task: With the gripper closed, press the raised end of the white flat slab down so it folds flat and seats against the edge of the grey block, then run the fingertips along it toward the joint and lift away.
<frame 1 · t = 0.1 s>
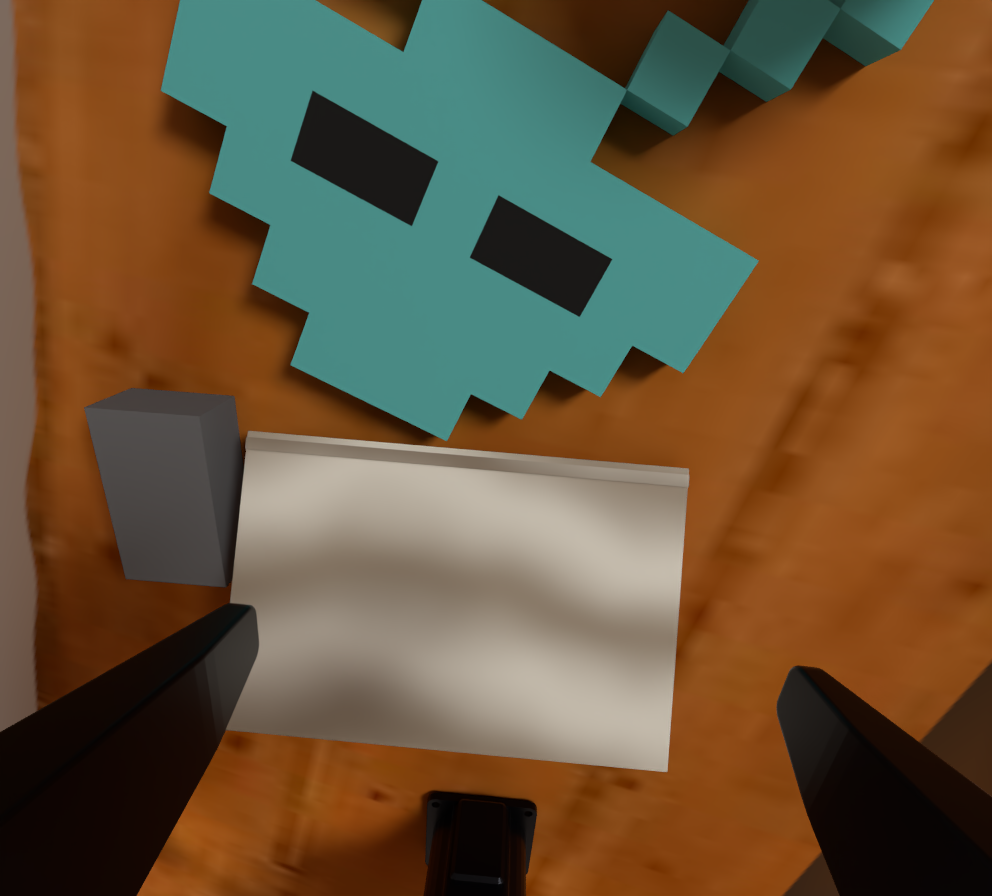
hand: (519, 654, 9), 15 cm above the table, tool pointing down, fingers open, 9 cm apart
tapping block: (200, 472, 25), on the table
alien figure: (488, 153, 20), on the table
white flat slab: (455, 594, 22), point 3 cm above the table, hinge at 25.0°
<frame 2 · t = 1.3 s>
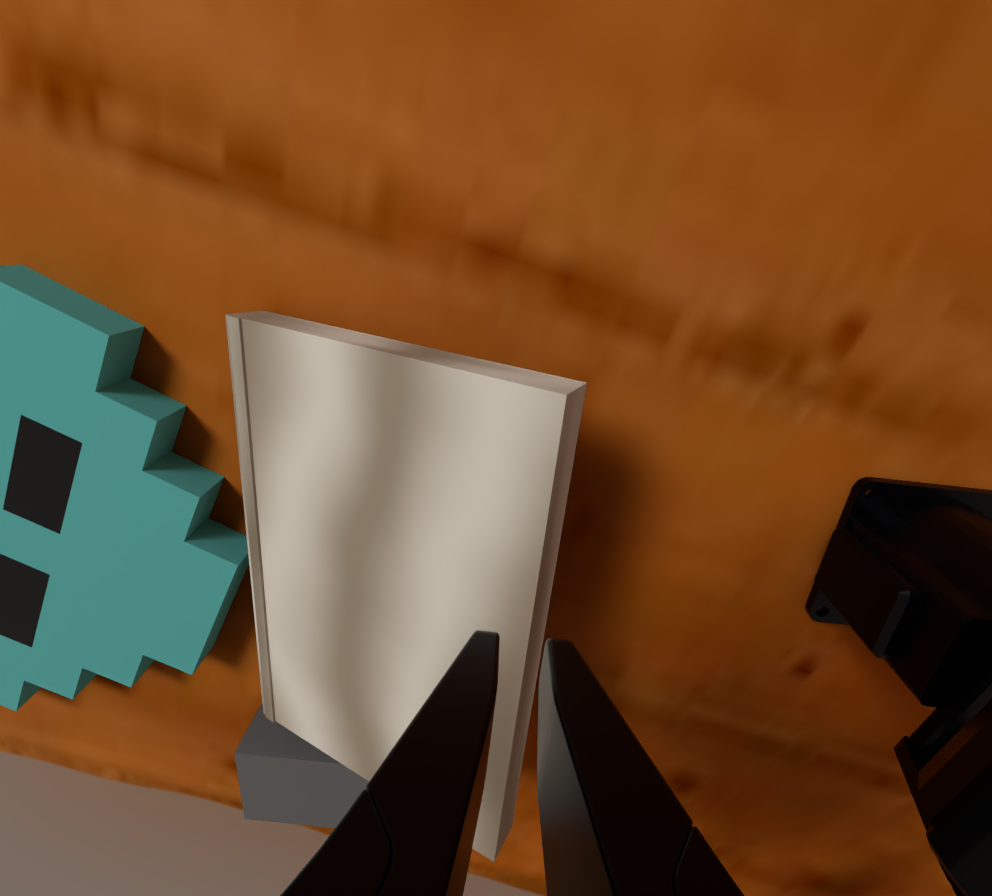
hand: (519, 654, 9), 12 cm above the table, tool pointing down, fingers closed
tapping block: (345, 738, 27), on the table
alien figure: (23, 490, 23), on the table
white flat slab: (380, 593, 19), point 3 cm above the table, hinge at 25.0°
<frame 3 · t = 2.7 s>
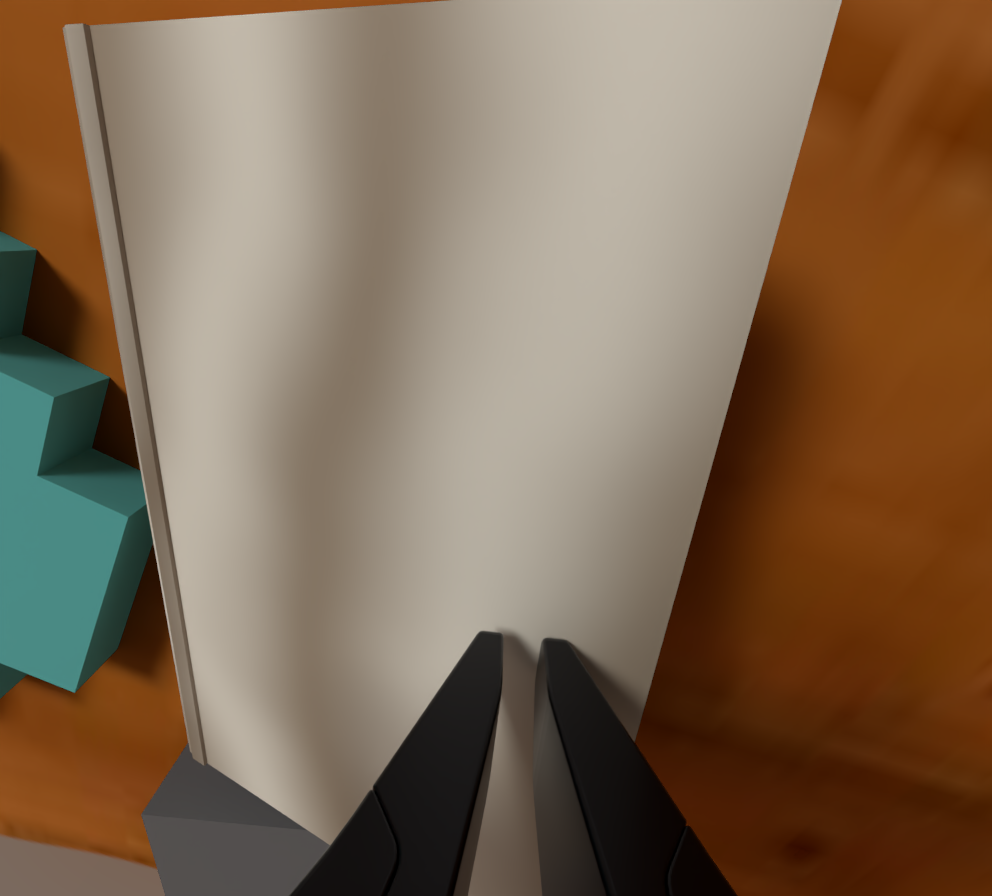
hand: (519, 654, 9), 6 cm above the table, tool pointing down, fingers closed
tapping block: (317, 781, 19), on the table
white flat slab: (365, 554, 11), point 3 cm above the table, hinge at 22.7°, touching gripper
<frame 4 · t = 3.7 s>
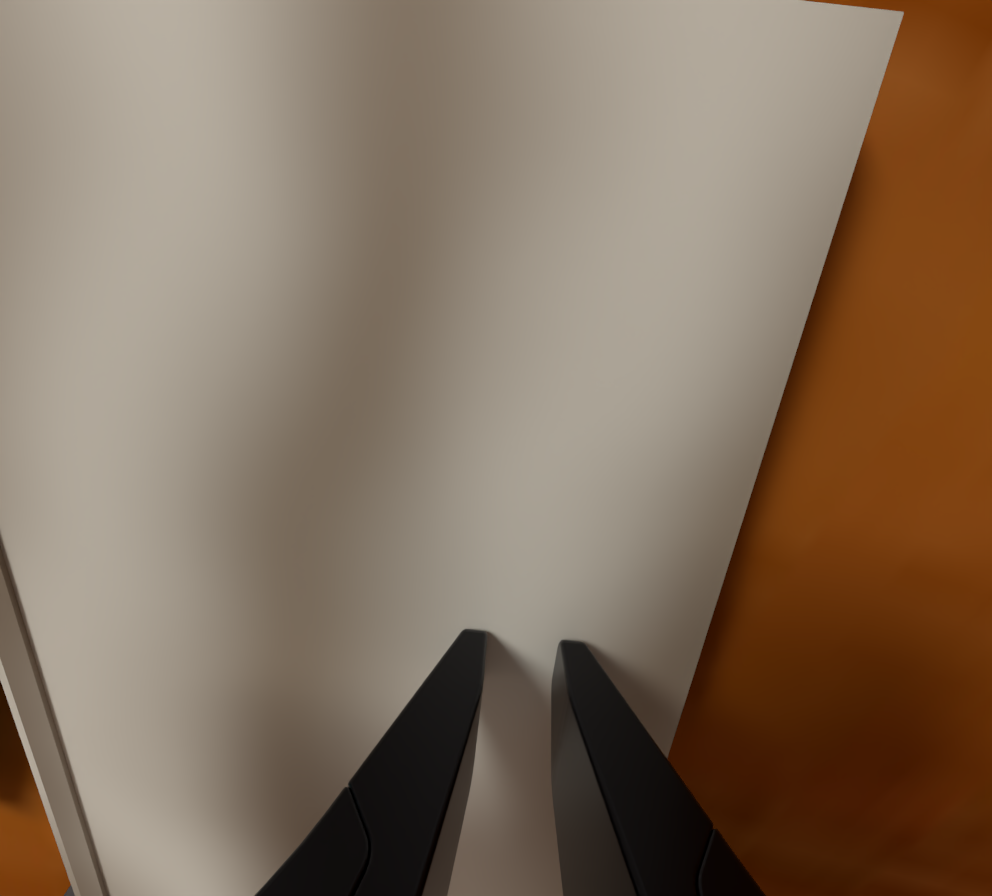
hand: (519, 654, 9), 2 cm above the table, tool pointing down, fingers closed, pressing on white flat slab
white flat slab: (349, 610, 10), point 1 cm above the table, hinge at -0.1°, touching gripper
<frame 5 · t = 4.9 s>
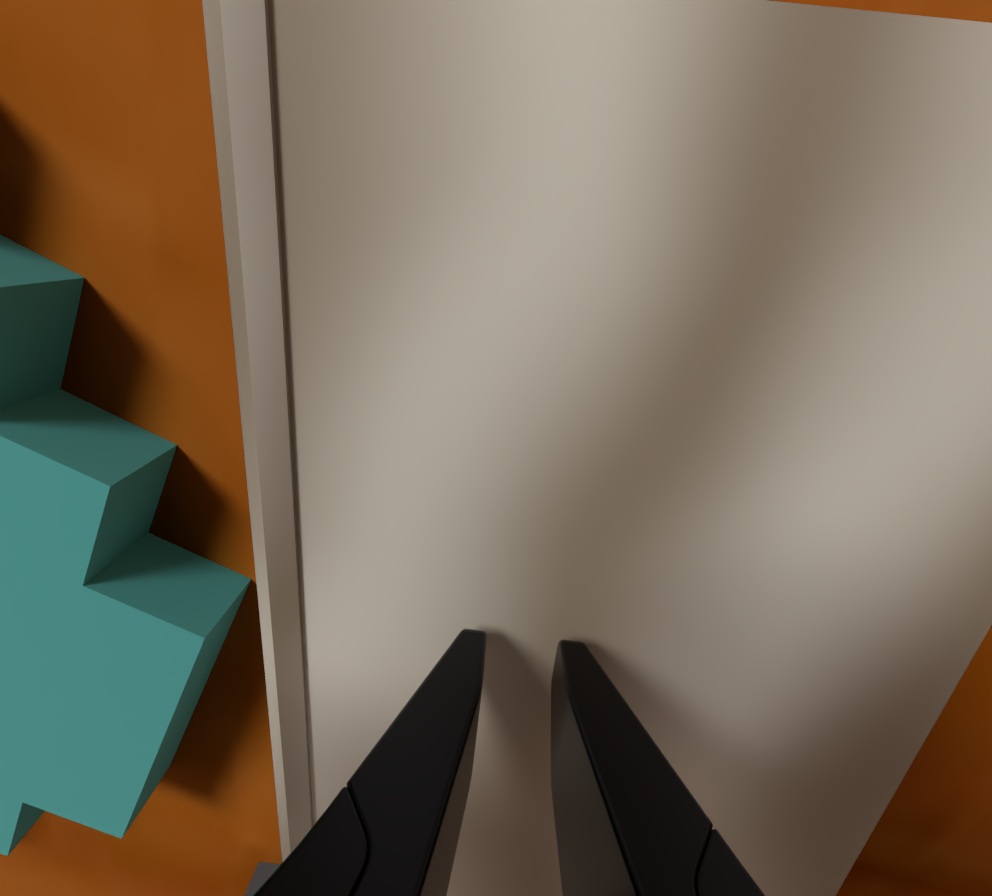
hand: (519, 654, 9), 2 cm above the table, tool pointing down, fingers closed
white flat slab: (599, 621, 10), point 1 cm above the table, hinge at -0.1°
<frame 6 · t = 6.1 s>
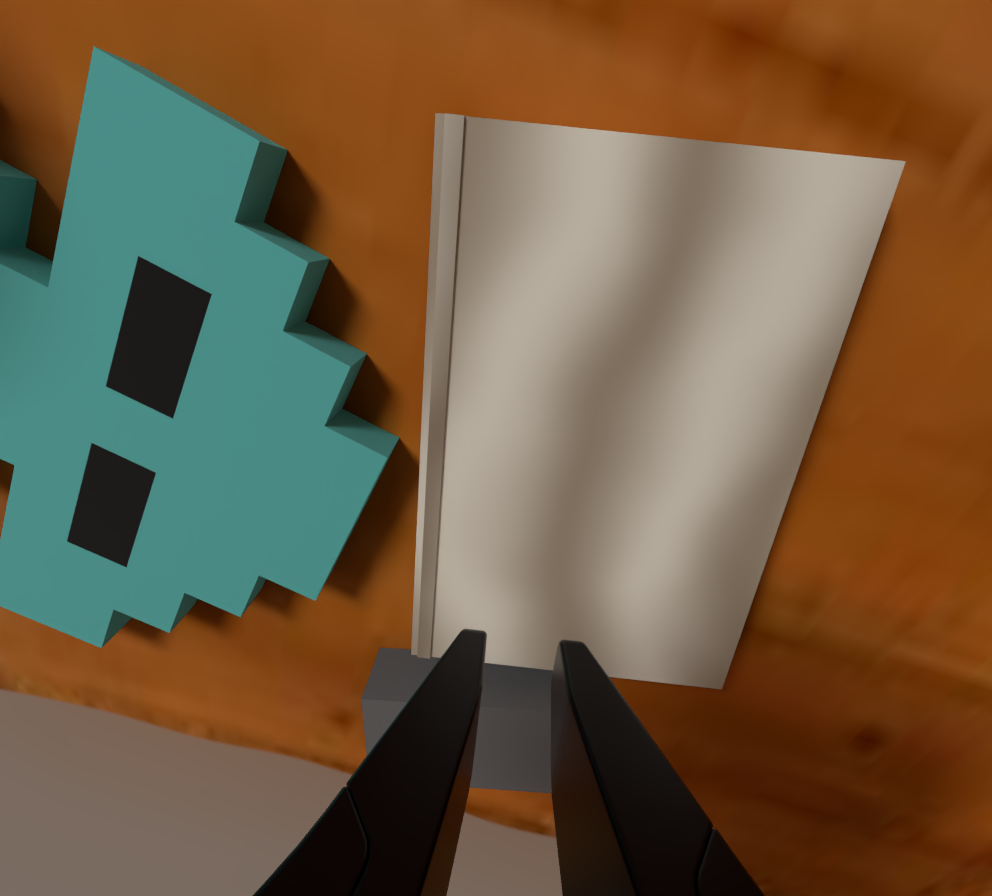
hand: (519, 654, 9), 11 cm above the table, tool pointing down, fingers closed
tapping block: (473, 687, 24), on the table
alien figure: (117, 379, 19), on the table
white flat slab: (604, 450, 18), point 1 cm above the table, hinge at -0.1°
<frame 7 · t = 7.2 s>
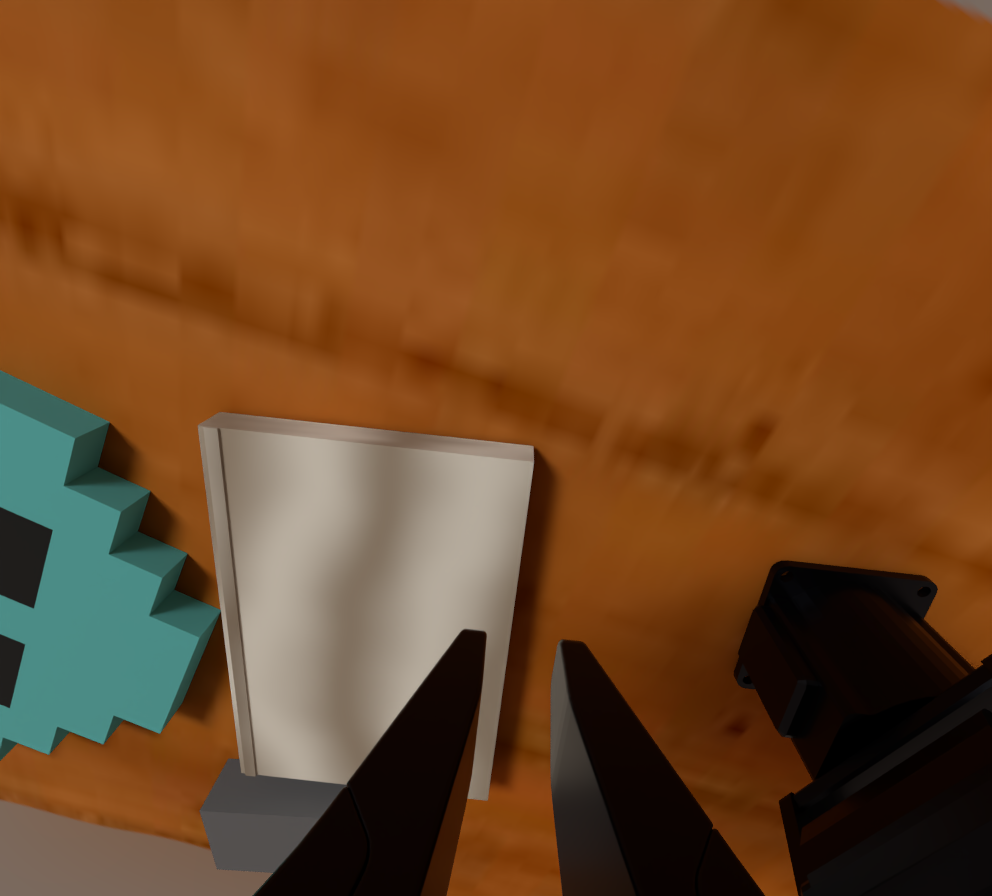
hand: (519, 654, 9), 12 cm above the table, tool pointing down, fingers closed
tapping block: (310, 786, 29), on the table
alien figure: (2, 561, 25), on the table
white flat slab: (369, 630, 23), point 1 cm above the table, hinge at -0.1°
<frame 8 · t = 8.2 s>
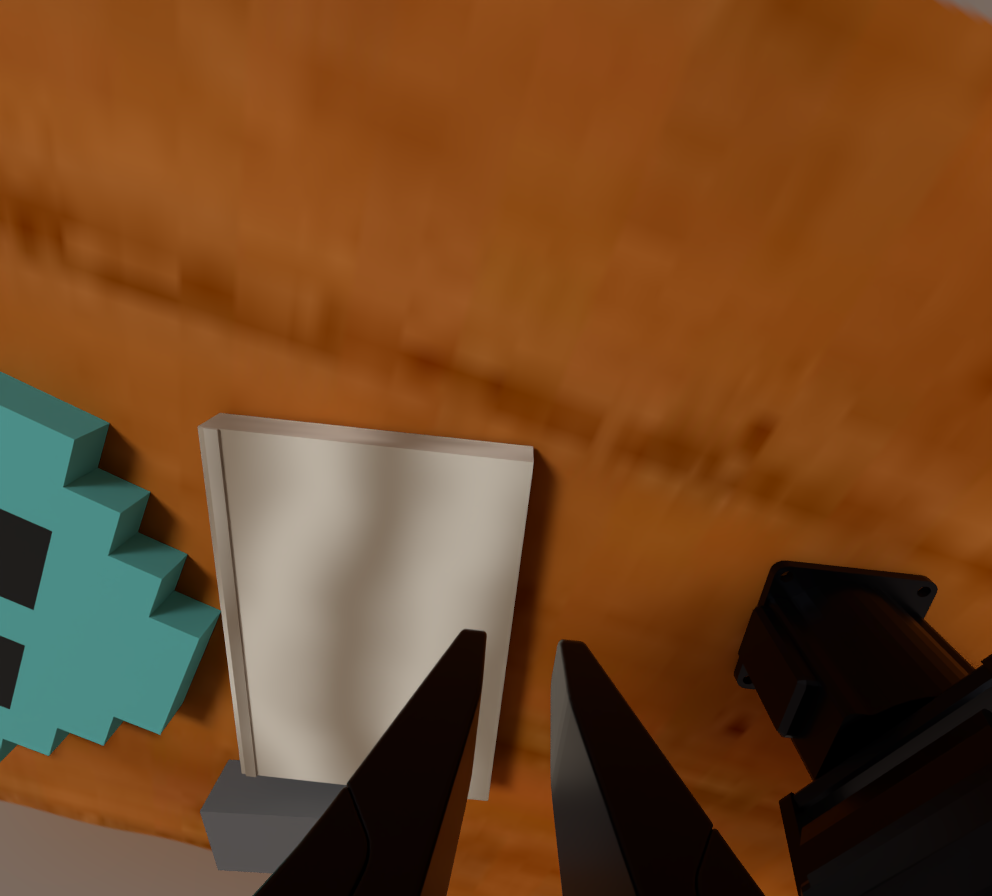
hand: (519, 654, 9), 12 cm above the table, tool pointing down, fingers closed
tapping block: (311, 787, 29), on the table
alien figure: (2, 562, 25), on the table
white flat slab: (369, 630, 23), point 1 cm above the table, hinge at -0.1°
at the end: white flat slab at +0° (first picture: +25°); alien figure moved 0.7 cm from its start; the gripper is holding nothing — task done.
